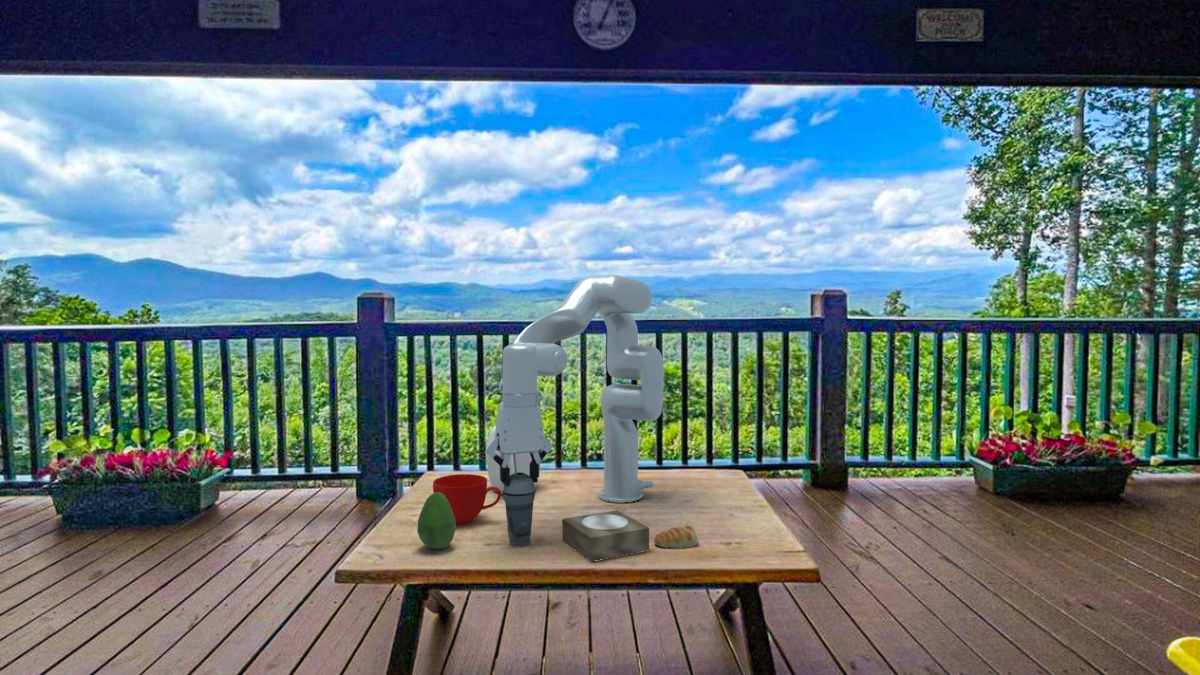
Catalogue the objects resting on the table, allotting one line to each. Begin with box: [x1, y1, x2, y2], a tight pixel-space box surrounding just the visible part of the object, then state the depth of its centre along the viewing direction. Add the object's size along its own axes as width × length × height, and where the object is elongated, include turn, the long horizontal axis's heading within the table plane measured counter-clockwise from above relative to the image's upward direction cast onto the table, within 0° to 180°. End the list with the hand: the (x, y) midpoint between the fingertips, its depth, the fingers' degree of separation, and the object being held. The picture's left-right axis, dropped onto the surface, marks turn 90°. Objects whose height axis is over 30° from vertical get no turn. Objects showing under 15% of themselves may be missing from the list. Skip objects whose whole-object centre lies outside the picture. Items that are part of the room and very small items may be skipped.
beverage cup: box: [502, 454, 537, 548], centre depth 138 cm, size 7×7×20 cm
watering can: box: [485, 425, 541, 495], centre depth 181 cm, size 16×27×19 cm, turn 172°
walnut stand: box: [561, 509, 650, 562], centre depth 137 cm, size 14×14×5 cm
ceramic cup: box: [432, 473, 502, 526], centre depth 153 cm, size 13×17×10 cm
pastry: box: [653, 524, 699, 549], centre depth 139 cm, size 9×7×4 cm
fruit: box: [416, 492, 457, 550], centre depth 135 cm, size 8×8×12 cm
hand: (519, 482), depth 138 cm, fingers closed on beverage cup, 5 cm apart
